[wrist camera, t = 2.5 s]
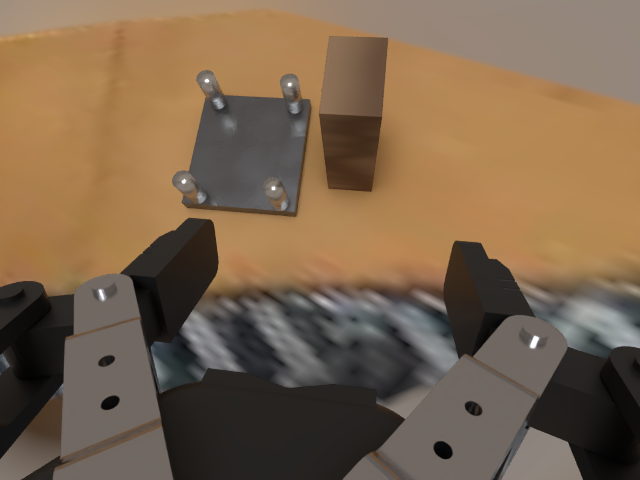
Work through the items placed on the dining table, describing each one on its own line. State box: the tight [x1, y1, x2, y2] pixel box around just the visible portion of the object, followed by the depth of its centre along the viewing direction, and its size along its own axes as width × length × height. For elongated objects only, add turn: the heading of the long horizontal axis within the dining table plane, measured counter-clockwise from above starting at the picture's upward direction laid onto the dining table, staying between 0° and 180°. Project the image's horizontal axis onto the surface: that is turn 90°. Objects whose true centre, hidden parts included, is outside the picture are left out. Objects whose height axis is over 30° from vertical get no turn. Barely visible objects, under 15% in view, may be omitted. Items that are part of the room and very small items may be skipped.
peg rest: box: [172, 70, 311, 216], centre depth 29 cm, size 9×10×4 cm
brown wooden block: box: [319, 36, 388, 192], centre depth 26 cm, size 3×5×10 cm, turn 173°
